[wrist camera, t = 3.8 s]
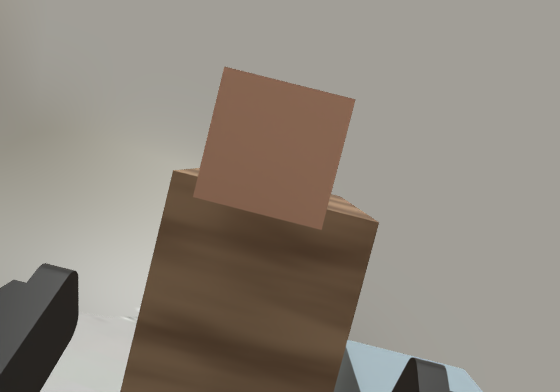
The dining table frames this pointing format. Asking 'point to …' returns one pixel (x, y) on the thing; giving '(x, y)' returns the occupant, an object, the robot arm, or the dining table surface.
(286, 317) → the plinth
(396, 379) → the grey foam block
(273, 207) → the bar
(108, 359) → the dining table surface
